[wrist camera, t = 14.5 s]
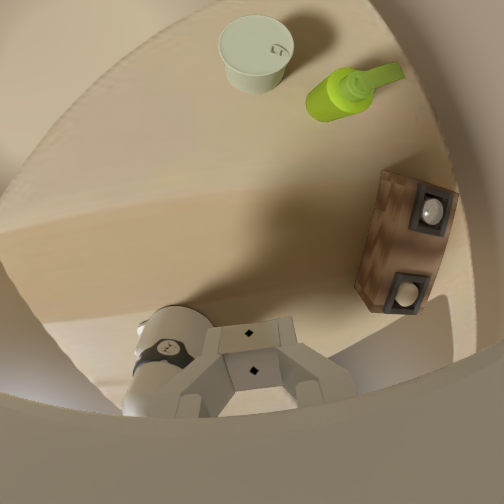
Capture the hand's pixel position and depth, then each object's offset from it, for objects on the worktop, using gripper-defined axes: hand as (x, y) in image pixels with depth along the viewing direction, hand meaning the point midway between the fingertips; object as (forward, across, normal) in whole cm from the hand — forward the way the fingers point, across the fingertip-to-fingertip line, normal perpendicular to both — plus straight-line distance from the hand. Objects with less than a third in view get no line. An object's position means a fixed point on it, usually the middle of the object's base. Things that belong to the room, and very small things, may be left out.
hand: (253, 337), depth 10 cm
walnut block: (+37, -24, +12) cm, 46 cm away
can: (+37, -4, -20) cm, 42 cm away
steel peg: (+35, -27, +5) cm, 44 cm away
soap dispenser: (+37, -14, -12) cm, 42 cm away
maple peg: (+35, -22, +19) cm, 46 cm away
